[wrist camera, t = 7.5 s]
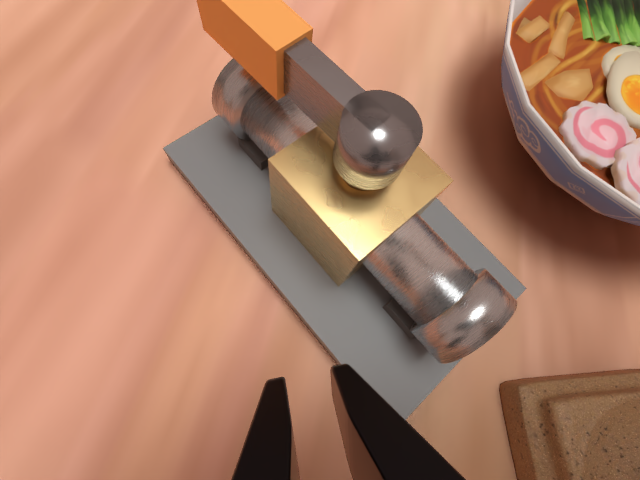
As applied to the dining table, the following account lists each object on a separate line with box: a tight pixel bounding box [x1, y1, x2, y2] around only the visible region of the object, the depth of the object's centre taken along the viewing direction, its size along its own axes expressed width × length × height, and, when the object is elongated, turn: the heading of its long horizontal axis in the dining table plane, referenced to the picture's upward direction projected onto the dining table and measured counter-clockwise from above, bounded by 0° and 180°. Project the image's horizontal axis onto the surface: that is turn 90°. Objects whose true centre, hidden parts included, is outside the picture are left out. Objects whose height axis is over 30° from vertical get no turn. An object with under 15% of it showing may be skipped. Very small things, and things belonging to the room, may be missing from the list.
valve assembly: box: [163, 58, 526, 420], centre depth 20 cm, size 22×12×8 cm, turn 41°
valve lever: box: [197, 0, 423, 190], centre depth 15 cm, size 12×3×3 cm, turn 43°
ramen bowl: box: [501, 0, 640, 226], centre depth 24 cm, size 25×23×8 cm
